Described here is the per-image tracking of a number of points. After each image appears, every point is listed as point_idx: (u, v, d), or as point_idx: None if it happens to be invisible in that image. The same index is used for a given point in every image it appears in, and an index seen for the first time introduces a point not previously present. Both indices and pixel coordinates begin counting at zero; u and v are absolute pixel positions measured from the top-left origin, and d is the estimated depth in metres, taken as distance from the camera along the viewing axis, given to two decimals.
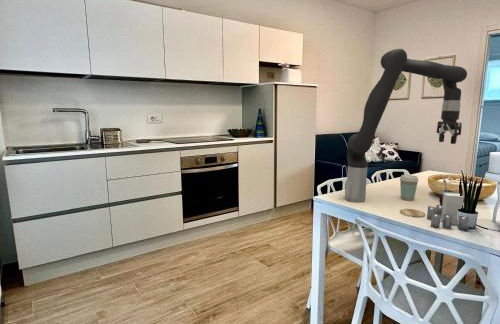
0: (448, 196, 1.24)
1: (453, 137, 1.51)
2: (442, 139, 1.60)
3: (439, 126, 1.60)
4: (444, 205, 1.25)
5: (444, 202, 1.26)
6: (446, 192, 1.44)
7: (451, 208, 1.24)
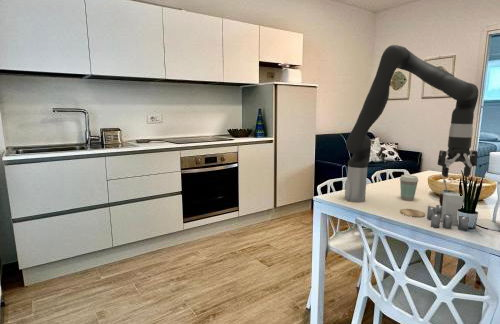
0: (448, 196, 1.24)
1: (470, 169, 1.23)
2: None
3: None
4: (445, 205, 1.25)
5: (444, 202, 1.26)
6: (446, 192, 1.44)
7: (451, 208, 1.24)
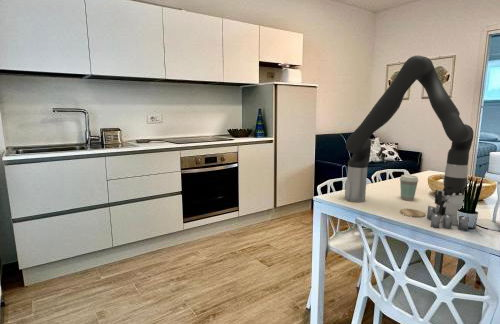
0: (448, 196, 1.24)
1: None
2: None
3: None
4: None
5: None
6: None
7: (451, 208, 1.24)
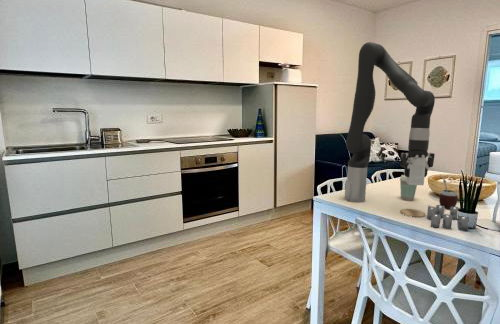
0: (412, 158, 1.33)
1: (426, 169, 1.34)
2: None
3: None
4: None
5: None
6: (446, 192, 1.44)
7: (415, 169, 1.33)
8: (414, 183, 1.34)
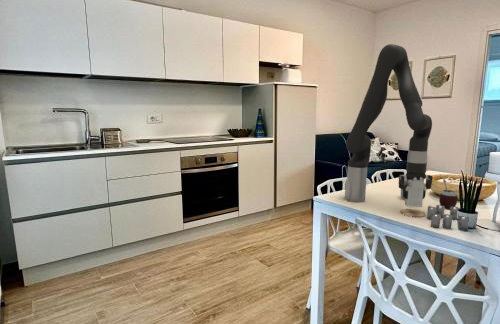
0: (410, 180, 1.34)
1: (425, 191, 1.36)
2: None
3: (403, 181, 1.35)
4: None
5: None
6: (446, 192, 1.44)
7: (413, 191, 1.35)
8: (412, 205, 1.35)
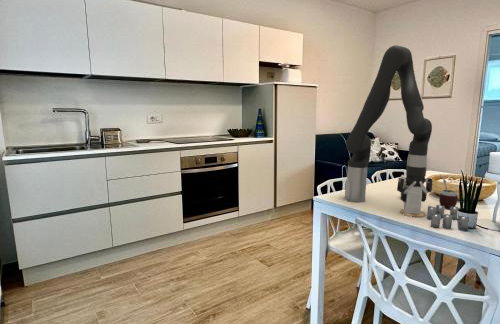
0: None
1: (425, 194, 1.36)
2: None
3: None
4: (406, 196, 1.36)
5: None
6: (446, 192, 1.44)
7: (411, 198, 1.35)
8: (411, 212, 1.36)
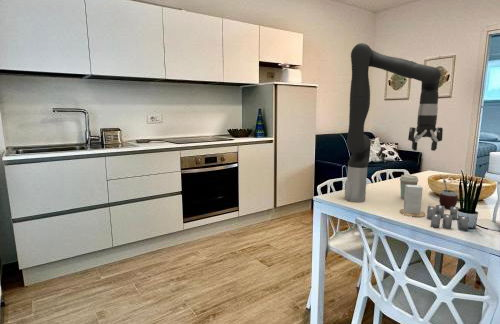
0: (409, 187, 1.35)
1: (436, 143, 1.41)
2: None
3: None
4: (406, 196, 1.36)
5: (405, 193, 1.37)
6: (446, 192, 1.44)
7: (411, 198, 1.35)
8: (411, 212, 1.36)
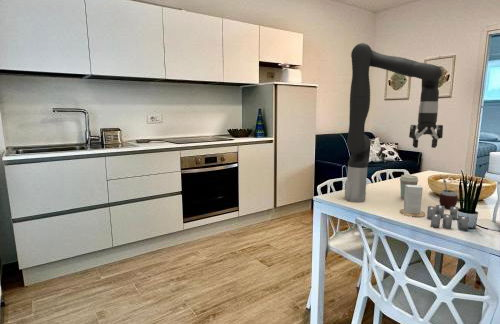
0: (409, 187, 1.35)
1: (436, 140, 1.43)
2: None
3: None
4: (406, 196, 1.36)
5: (405, 193, 1.37)
6: (446, 192, 1.44)
7: (411, 198, 1.35)
8: (411, 212, 1.36)
